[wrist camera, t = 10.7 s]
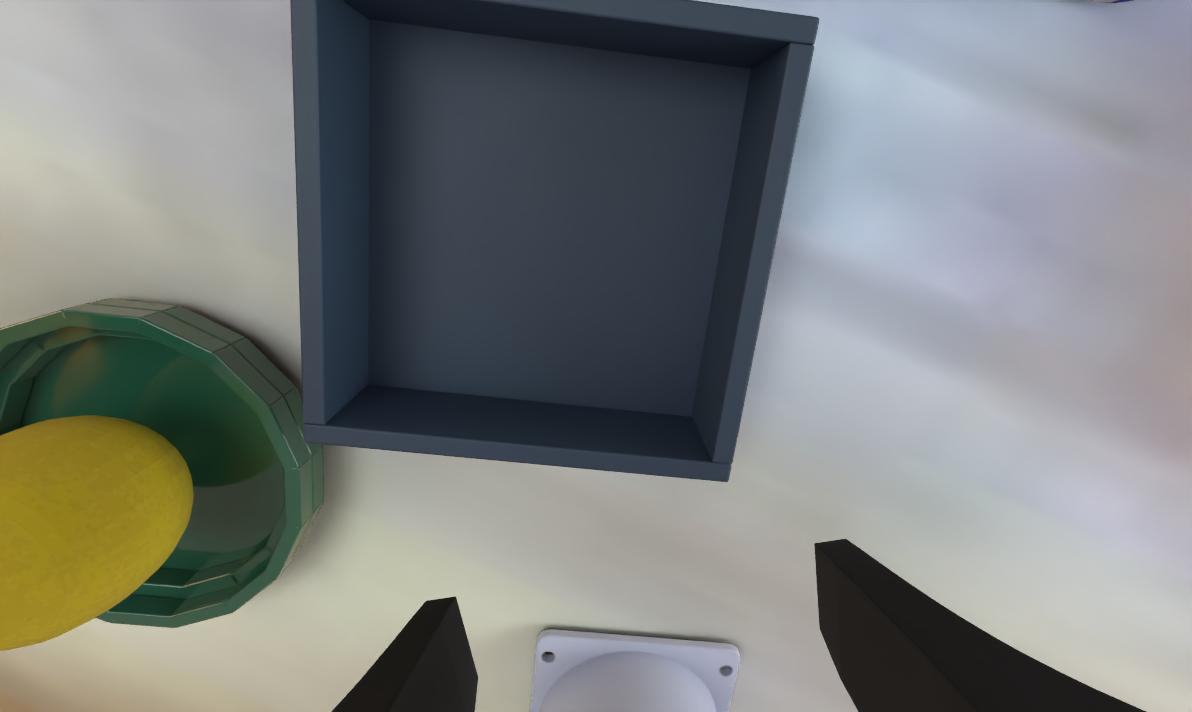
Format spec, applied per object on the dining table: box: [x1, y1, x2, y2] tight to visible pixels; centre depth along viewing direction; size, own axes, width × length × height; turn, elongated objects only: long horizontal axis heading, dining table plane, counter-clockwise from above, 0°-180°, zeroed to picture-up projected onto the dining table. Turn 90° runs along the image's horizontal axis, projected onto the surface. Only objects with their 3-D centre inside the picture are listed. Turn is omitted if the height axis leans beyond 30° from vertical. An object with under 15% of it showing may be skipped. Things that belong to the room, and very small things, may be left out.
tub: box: [291, 0, 819, 482], centre depth 17 cm, size 12×12×4 cm
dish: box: [0, 299, 324, 628], centre depth 20 cm, size 11×11×2 cm
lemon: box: [0, 415, 194, 651], centre depth 16 cm, size 6×6×8 cm
